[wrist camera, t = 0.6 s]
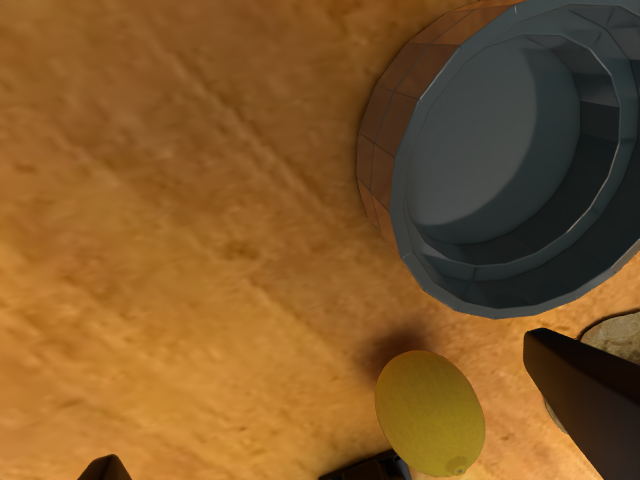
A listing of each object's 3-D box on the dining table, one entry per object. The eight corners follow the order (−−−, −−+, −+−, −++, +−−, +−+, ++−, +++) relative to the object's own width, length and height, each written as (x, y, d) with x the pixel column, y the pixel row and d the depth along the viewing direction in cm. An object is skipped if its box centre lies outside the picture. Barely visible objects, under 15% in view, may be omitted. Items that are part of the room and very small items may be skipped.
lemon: (447, 320, 27) (525, 422, 20) (434, 387, 29) (500, 500, 22) (362, 328, 26) (413, 438, 19) (356, 397, 28) (399, 518, 21)
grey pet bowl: (598, 217, 26) (684, 259, 21) (386, 295, 25) (424, 357, 20) (601, -43, 19) (727, -70, 14) (320, 54, 19) (352, 60, 14)
